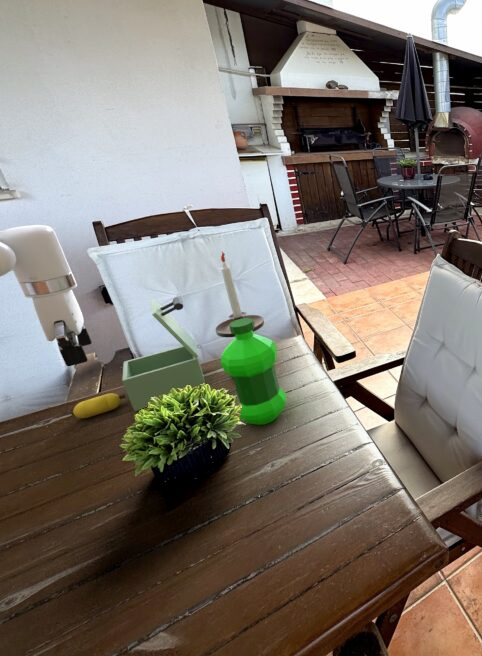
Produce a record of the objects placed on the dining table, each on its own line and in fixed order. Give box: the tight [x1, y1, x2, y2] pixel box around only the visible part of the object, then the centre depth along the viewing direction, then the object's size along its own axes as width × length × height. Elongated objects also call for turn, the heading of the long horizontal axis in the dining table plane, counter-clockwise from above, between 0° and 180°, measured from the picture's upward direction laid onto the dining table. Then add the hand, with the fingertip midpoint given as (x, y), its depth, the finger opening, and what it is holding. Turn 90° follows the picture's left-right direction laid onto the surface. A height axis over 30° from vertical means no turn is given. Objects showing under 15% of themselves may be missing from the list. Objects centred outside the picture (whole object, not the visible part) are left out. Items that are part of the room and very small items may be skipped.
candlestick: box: [215, 251, 265, 338], centre depth 106 cm, size 11×11×35 cm
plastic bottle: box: [220, 318, 287, 426], centre depth 89 cm, size 10×10×25 cm
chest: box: [121, 345, 206, 412], centre depth 102 cm, size 14×11×9 cm
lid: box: [150, 296, 199, 358], centre depth 102 cm, size 15×11×5 cm
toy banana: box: [70, 392, 126, 419], centre depth 95 cm, size 9×4×4 cm, turn 131°
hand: (80, 354), depth 90 cm, fingers open, 9 cm apart
